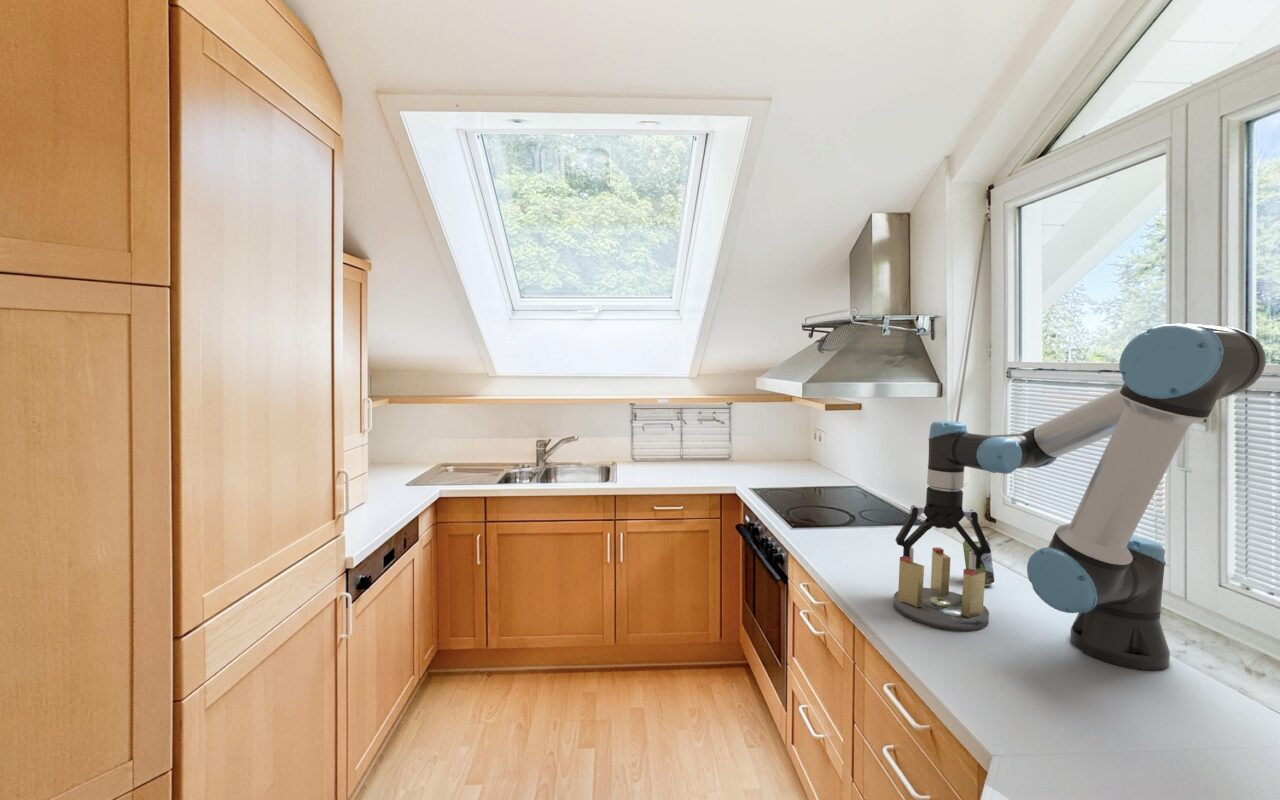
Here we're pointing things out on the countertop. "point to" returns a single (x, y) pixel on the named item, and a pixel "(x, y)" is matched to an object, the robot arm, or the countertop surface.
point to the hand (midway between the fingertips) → (940, 578)
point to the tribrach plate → (942, 612)
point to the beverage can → (985, 560)
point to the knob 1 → (910, 582)
